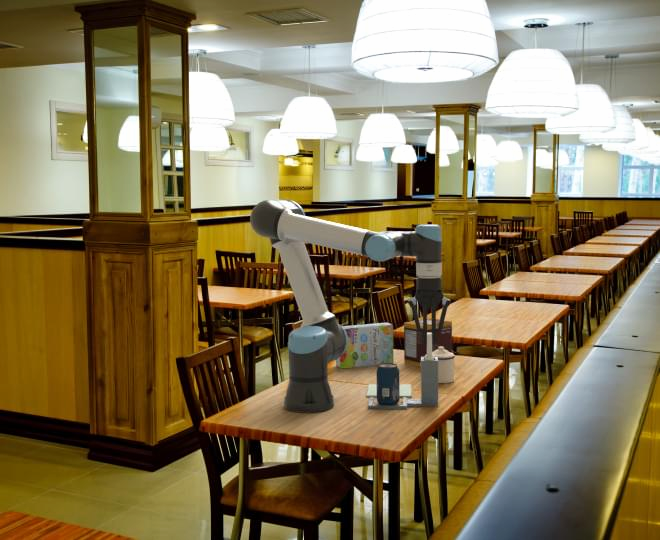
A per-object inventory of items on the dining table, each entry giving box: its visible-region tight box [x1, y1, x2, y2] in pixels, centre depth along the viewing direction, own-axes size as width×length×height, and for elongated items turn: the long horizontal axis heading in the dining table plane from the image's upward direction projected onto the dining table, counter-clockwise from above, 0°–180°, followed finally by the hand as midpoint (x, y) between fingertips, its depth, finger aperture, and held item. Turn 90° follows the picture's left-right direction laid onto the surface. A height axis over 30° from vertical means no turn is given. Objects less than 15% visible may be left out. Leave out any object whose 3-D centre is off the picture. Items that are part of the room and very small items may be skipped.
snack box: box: [335, 322, 395, 370], centre depth 282 cm, size 21×6×15 cm, turn 108°
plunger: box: [425, 355, 434, 360], centre depth 229 cm, size 3×3×6 cm
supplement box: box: [403, 317, 453, 368], centre depth 284 cm, size 10×15×16 cm
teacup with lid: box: [420, 346, 456, 384], centre depth 258 cm, size 12×9×12 cm
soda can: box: [376, 363, 401, 405], centre depth 231 cm, size 7×7×12 cm
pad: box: [365, 383, 412, 399], centre depth 245 cm, size 14×14×1 cm
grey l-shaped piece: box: [367, 357, 439, 410], centre depth 229 cm, size 9×21×14 cm, turn 84°
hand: (429, 354), depth 228 cm, fingers closed
